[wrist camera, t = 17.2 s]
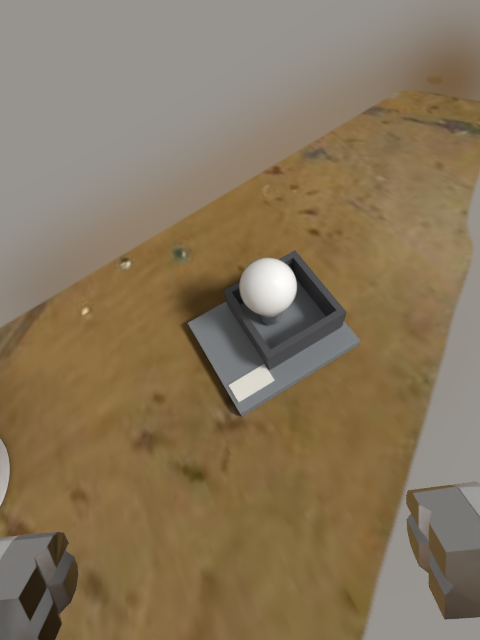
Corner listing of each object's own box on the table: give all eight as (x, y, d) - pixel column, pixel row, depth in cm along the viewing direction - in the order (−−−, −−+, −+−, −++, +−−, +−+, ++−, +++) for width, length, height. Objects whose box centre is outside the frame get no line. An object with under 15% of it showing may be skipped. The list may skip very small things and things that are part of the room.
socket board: (241, 416, 45) (236, 406, 40) (190, 327, 51) (179, 308, 46) (358, 345, 47) (366, 327, 43) (295, 267, 53) (296, 244, 49)
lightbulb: (239, 307, 50) (226, 260, 40) (283, 288, 50) (280, 237, 41) (259, 348, 47) (250, 308, 37) (305, 328, 48) (308, 282, 38)
